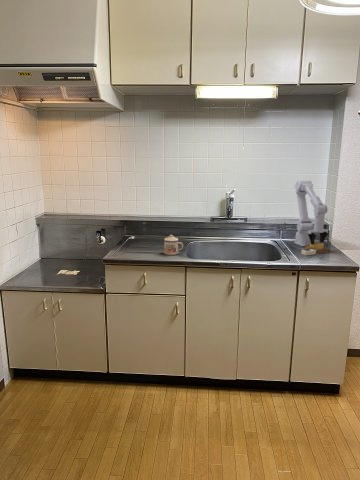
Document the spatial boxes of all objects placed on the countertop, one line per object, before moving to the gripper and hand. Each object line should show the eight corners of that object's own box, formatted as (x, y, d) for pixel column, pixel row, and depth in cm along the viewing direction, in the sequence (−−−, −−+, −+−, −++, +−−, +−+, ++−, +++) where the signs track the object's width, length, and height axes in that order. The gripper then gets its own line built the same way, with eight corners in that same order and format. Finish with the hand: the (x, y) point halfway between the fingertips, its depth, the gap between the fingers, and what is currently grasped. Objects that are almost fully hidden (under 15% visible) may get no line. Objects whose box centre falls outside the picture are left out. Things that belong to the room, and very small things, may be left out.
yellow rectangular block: (308, 248, 243) (309, 240, 242) (313, 247, 245) (314, 239, 243) (317, 251, 235) (318, 243, 234) (323, 250, 237) (324, 242, 235)
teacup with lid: (162, 254, 225) (162, 236, 222) (165, 251, 234) (165, 233, 231) (181, 255, 223) (182, 237, 221) (183, 251, 232) (184, 234, 229)
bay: (301, 253, 231) (301, 249, 231) (310, 252, 234) (311, 248, 234) (305, 255, 228) (306, 251, 227) (315, 254, 230) (315, 250, 230)
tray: (304, 248, 244) (304, 245, 243) (315, 247, 247) (315, 244, 246) (317, 253, 232) (317, 250, 232) (328, 252, 236) (329, 248, 235)
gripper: (314, 225, 229) (312, 246, 232) (332, 223, 234) (330, 244, 238) (306, 223, 236) (304, 243, 239) (324, 221, 241) (322, 241, 244)
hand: (316, 243), depth 239 cm, fingers open, 7 cm apart
